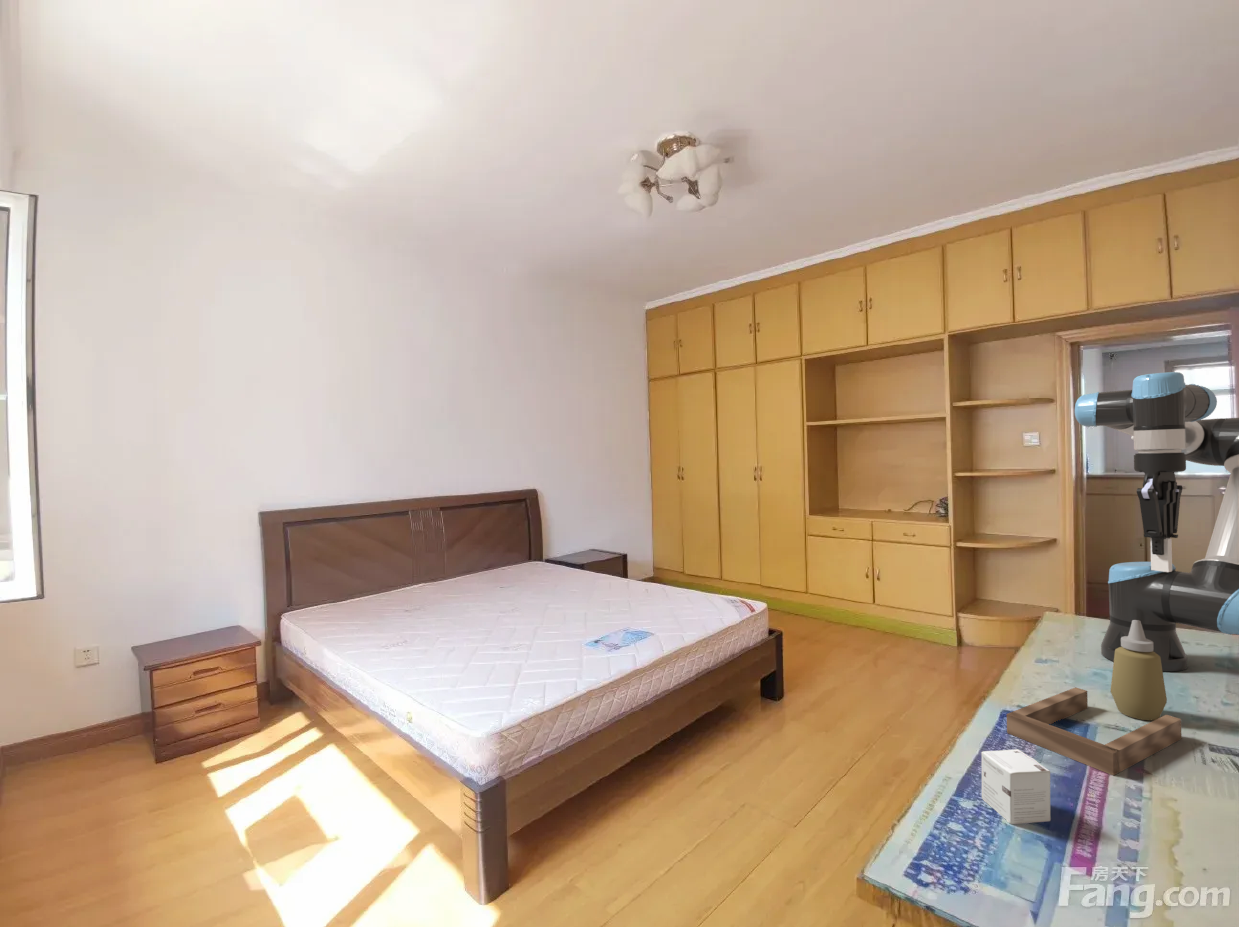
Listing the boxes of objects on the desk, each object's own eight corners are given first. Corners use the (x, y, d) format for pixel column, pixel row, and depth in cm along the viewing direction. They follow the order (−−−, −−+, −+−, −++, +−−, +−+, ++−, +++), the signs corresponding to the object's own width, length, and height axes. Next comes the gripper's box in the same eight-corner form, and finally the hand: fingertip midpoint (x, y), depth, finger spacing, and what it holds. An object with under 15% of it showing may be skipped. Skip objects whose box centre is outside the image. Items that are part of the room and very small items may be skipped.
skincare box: (980, 799, 86) (979, 750, 86) (1019, 796, 86) (1018, 747, 86) (1011, 825, 80) (1010, 772, 80) (1052, 822, 80) (1051, 769, 80)
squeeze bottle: (1179, 725, 105) (1177, 627, 105) (1128, 723, 107) (1126, 626, 107) (1148, 706, 113) (1146, 615, 113) (1101, 704, 115) (1099, 614, 115)
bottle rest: (1075, 704, 115) (1075, 687, 115) (1181, 738, 101) (1181, 718, 101) (1007, 732, 105) (1006, 713, 105) (1113, 775, 90) (1113, 753, 90)
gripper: (1151, 451, 120) (1153, 563, 121) (1119, 453, 114) (1121, 571, 115) (1199, 450, 113) (1201, 569, 114) (1168, 452, 108) (1170, 578, 108)
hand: (1161, 570), depth 114 cm, fingers closed
